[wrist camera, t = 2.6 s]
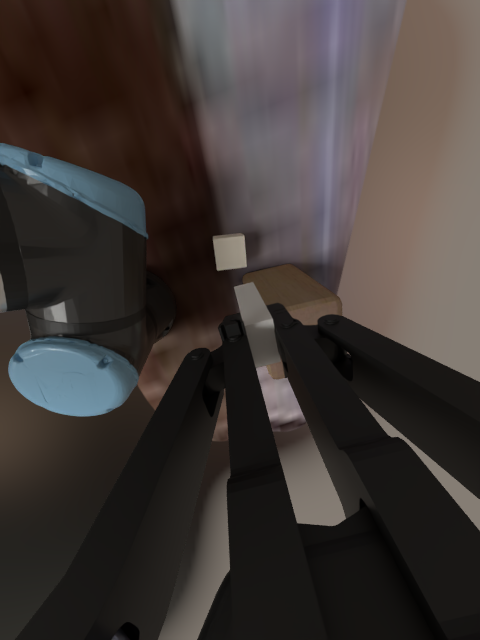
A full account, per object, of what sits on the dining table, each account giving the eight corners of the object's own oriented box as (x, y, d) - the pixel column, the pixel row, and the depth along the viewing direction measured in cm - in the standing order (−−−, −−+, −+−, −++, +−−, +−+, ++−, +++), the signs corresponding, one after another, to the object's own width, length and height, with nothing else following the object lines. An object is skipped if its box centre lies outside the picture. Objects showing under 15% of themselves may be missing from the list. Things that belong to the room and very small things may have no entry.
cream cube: (216, 264, 43) (217, 270, 38) (212, 236, 40) (212, 239, 36) (243, 261, 43) (246, 267, 38) (241, 232, 41) (244, 235, 36)
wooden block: (296, 308, 48) (345, 366, 30) (250, 319, 48) (271, 384, 30) (291, 261, 44) (345, 297, 26) (240, 273, 44) (258, 317, 26)
